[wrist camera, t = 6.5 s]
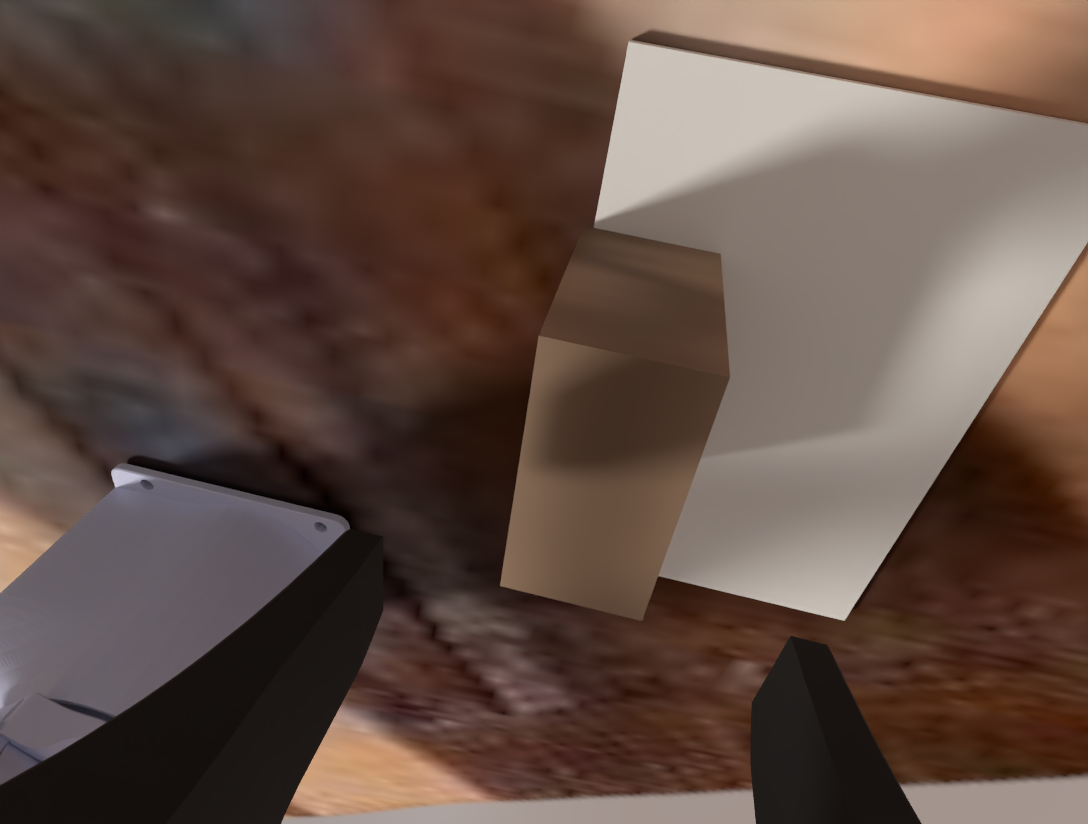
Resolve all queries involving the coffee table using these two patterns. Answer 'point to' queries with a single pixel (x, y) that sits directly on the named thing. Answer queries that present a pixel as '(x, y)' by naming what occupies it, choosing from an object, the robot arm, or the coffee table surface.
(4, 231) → the coffee table surface
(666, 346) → the brown block
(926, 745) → the coffee table surface
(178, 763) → the robot arm
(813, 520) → the mat
